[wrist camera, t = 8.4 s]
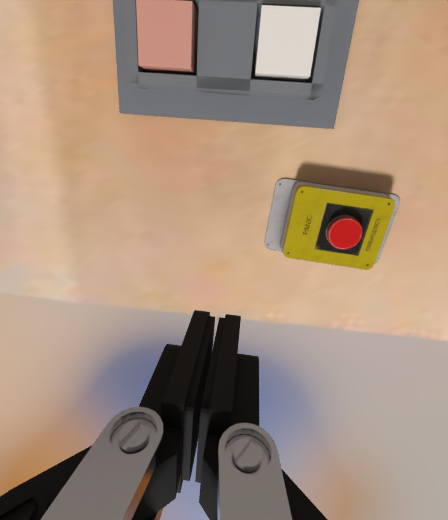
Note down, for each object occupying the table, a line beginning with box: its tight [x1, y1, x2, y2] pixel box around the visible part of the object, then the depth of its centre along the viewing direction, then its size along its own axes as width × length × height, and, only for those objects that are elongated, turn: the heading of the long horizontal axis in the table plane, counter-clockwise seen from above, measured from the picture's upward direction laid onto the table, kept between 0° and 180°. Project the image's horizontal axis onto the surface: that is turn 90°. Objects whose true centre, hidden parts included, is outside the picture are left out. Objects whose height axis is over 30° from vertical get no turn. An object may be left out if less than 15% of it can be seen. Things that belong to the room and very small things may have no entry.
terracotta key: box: [136, 0, 199, 75], centre depth 28 cm, size 5×5×3 cm
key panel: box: [113, 0, 359, 129], centre depth 29 cm, size 24×13×4 cm, turn 86°
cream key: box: [255, 5, 321, 82], centre depth 28 cm, size 5×5×3 cm
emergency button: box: [264, 179, 400, 270], centre depth 36 cm, size 9×4×15 cm
